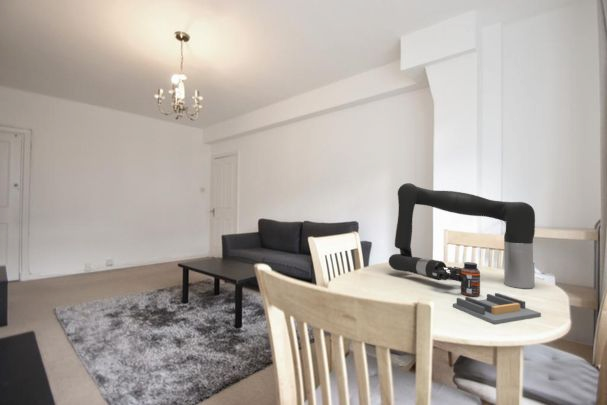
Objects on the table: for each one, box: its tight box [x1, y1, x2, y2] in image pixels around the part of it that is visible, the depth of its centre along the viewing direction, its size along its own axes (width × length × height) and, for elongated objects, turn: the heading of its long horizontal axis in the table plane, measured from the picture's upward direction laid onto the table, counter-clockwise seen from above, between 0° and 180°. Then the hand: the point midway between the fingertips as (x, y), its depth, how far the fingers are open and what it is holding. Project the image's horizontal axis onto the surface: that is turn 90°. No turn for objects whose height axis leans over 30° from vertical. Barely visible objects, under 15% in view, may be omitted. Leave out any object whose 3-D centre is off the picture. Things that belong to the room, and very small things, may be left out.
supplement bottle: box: [460, 261, 481, 298], centre depth 104 cm, size 6×6×11 cm
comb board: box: [452, 292, 542, 325], centre depth 88 cm, size 18×14×3 cm
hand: (469, 277), depth 104 cm, fingers open, 8 cm apart
